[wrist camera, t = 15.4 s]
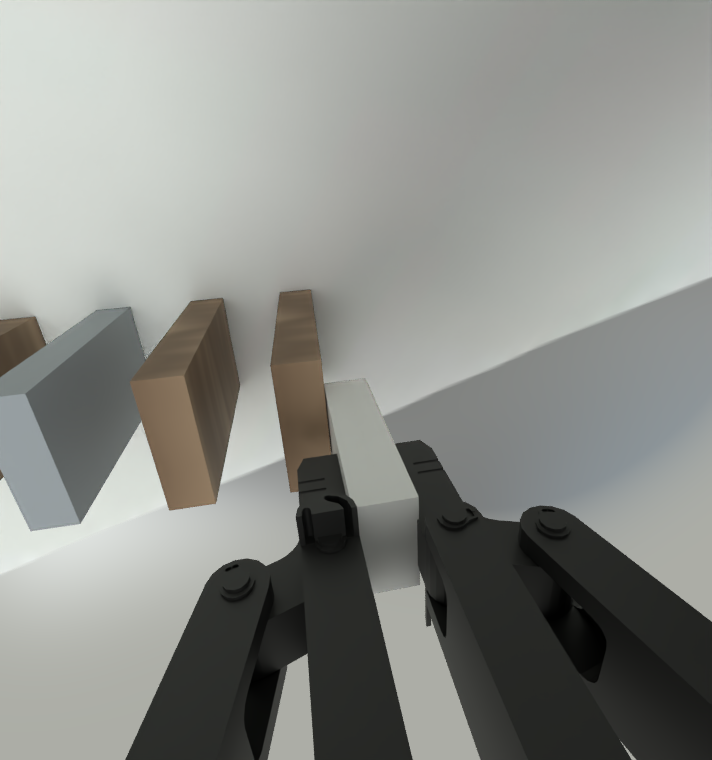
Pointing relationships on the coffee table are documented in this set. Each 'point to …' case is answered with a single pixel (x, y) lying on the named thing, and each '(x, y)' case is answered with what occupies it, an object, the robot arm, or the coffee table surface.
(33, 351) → the domino
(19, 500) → the domino
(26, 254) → the coffee table surface
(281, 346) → the domino
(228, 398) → the domino
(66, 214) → the coffee table surface
